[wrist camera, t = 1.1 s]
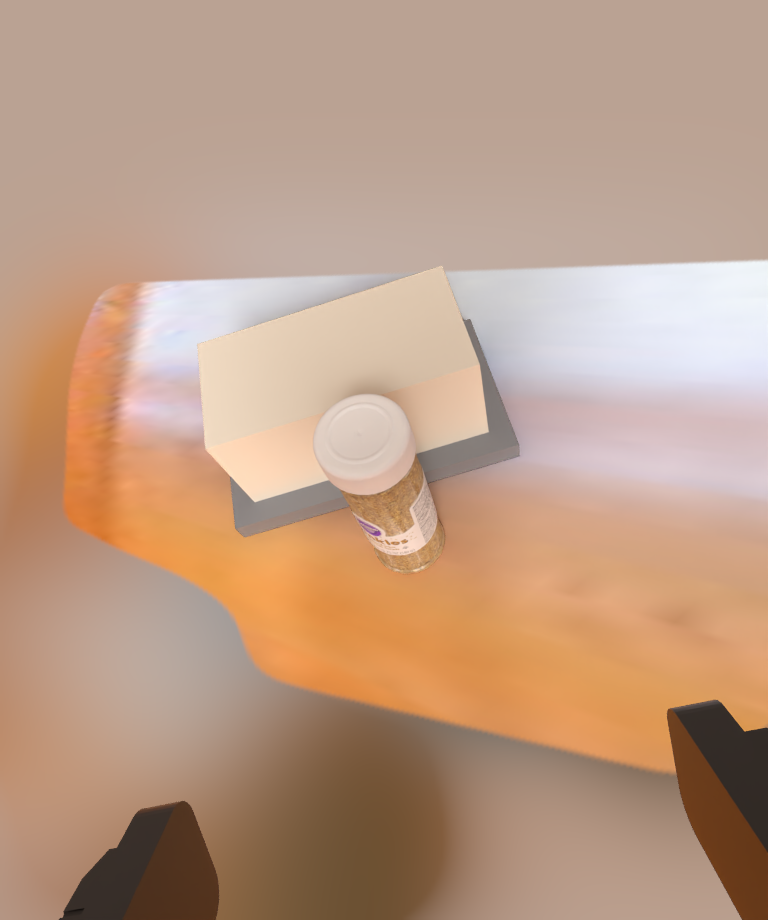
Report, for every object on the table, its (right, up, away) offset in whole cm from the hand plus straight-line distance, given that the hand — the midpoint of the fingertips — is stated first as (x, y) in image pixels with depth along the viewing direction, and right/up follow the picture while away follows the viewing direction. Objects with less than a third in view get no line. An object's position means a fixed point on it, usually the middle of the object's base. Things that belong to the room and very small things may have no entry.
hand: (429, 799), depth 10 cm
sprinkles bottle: (+1, 0, +30) cm, 30 cm away
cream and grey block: (-2, +8, +34) cm, 35 cm away
